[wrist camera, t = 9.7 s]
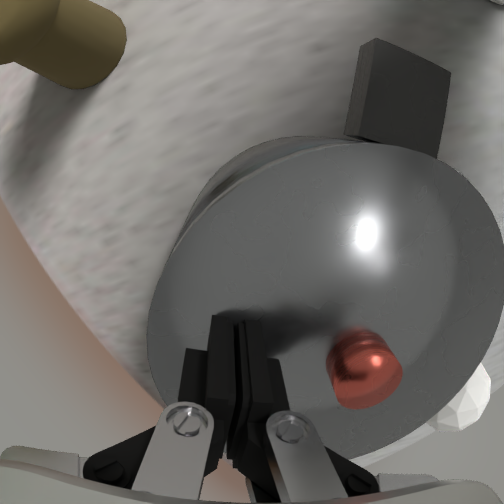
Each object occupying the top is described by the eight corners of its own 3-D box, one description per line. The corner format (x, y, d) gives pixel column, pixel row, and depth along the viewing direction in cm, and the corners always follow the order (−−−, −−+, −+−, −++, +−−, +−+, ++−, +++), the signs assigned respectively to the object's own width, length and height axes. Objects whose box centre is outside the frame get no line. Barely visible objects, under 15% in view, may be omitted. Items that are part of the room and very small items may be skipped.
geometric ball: (438, 340, 30) (504, 346, 23) (431, 404, 30) (491, 416, 23) (405, 363, 26) (485, 375, 19) (398, 435, 26) (467, 454, 19)
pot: (216, 54, 17) (204, -11, 8) (438, 119, 19) (542, 128, 10) (171, 373, 25) (153, 472, 16) (349, 387, 27) (384, 473, 18)
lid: (178, 96, 9) (161, 85, 7) (529, 204, 11) (566, 219, 9) (151, 440, 14) (144, 479, 12) (411, 442, 17) (425, 471, 14)
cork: (58, 104, 17) (-57, 101, 7) (42, 35, 15) (-60, 0, 5) (136, 65, 17) (52, 13, 7) (116, -5, 15) (41, -82, 5)
